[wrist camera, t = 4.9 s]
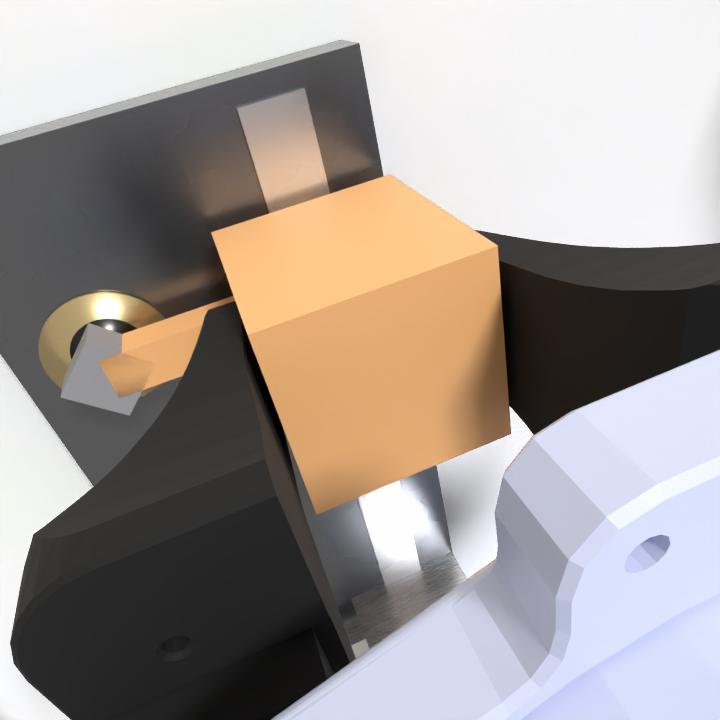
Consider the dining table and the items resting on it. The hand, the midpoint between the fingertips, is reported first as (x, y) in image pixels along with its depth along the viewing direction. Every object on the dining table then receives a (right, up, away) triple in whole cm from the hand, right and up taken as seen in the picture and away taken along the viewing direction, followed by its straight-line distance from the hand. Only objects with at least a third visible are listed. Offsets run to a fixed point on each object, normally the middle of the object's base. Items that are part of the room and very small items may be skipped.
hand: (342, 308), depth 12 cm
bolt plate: (-2, -4, +6) cm, 7 cm away
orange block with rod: (-2, 0, +1) cm, 2 cm away
